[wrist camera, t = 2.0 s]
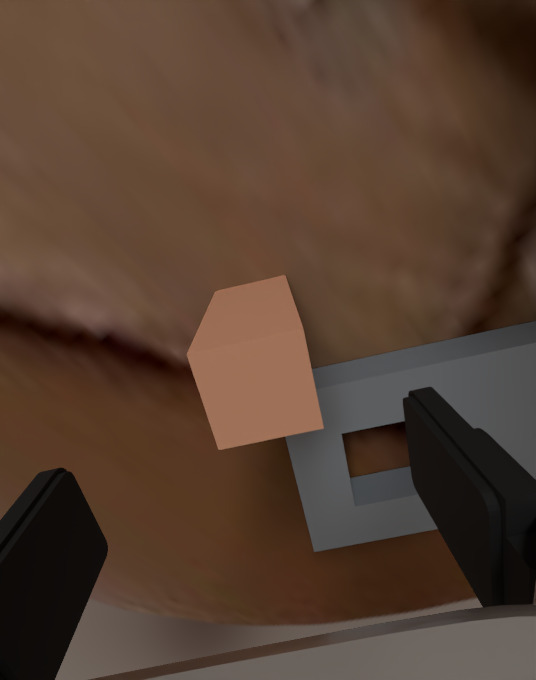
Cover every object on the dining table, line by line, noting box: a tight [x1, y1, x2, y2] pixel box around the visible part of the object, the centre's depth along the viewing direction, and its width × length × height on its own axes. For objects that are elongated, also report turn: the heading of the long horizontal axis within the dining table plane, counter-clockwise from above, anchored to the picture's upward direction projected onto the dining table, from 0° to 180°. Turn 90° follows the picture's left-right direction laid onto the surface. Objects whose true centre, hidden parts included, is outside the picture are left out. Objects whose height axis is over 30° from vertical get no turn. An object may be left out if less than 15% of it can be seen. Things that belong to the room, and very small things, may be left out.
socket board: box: [285, 321, 536, 552], centre depth 23 cm, size 12×22×2 cm, turn 103°
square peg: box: [187, 275, 324, 450], centre depth 17 cm, size 4×4×9 cm
